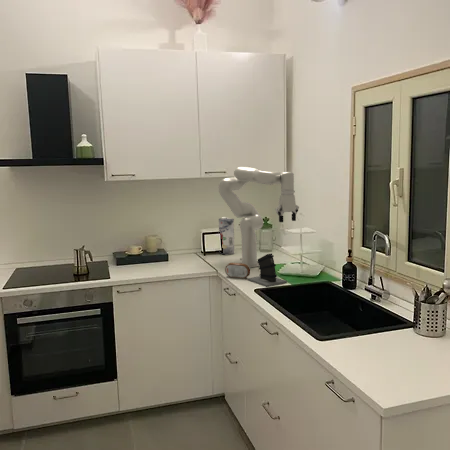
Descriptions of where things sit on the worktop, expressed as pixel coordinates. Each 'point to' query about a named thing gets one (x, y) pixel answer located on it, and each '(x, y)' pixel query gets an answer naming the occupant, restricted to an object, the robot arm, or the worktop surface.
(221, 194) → the robot arm
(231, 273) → the tin
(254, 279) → the mat
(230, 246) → the juice carton
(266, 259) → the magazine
